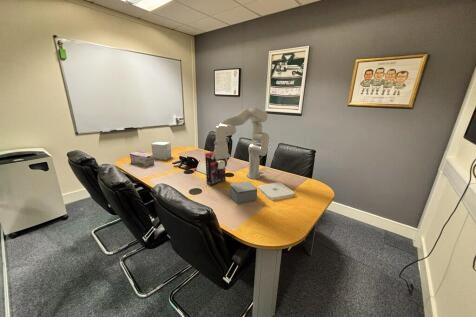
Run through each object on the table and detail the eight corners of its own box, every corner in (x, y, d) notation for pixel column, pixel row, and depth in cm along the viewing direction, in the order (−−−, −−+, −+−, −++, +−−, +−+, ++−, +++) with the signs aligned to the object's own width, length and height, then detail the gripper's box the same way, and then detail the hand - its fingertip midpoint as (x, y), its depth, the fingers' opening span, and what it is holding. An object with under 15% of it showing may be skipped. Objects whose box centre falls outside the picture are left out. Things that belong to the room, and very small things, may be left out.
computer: (256, 188, 159) (257, 185, 158) (279, 184, 167) (279, 182, 166) (270, 201, 140) (270, 198, 139) (295, 196, 148) (296, 193, 147)
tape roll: (223, 165, 148) (223, 160, 147) (226, 168, 143) (226, 162, 142) (216, 166, 146) (216, 160, 145) (218, 169, 141) (218, 163, 140)
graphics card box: (210, 186, 160) (210, 155, 152) (205, 184, 164) (204, 153, 156) (225, 180, 172) (225, 151, 164) (220, 178, 176) (220, 149, 168)
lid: (248, 182, 150) (248, 181, 150) (257, 189, 138) (257, 188, 138) (229, 184, 144) (230, 183, 144) (237, 192, 132) (237, 191, 132)
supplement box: (171, 156, 237) (170, 142, 231) (165, 160, 224) (164, 144, 219) (159, 155, 240) (157, 141, 235) (152, 158, 228) (150, 143, 223)
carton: (247, 191, 153) (248, 182, 150) (256, 199, 140) (257, 189, 138) (229, 195, 146) (229, 185, 144) (236, 204, 134) (236, 193, 132)
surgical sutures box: (154, 164, 210) (153, 154, 206) (145, 167, 201) (144, 157, 198) (140, 160, 222) (138, 151, 219) (131, 162, 213) (129, 153, 210)
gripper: (210, 145, 132) (211, 169, 138) (234, 143, 139) (233, 166, 145) (207, 142, 139) (208, 166, 144) (230, 141, 146) (230, 163, 151)
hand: (221, 166), depth 144 cm, fingers closed on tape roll, 6 cm apart
